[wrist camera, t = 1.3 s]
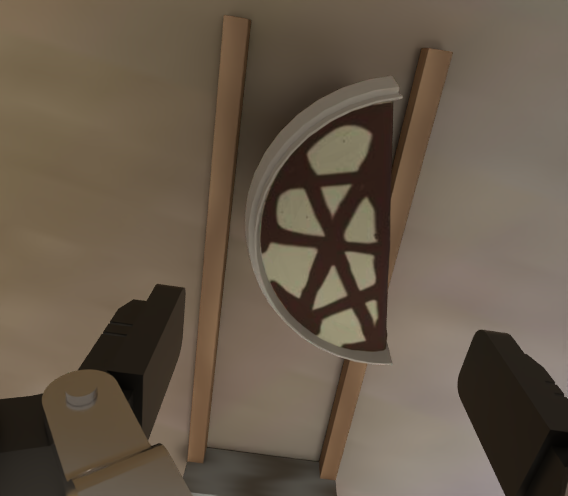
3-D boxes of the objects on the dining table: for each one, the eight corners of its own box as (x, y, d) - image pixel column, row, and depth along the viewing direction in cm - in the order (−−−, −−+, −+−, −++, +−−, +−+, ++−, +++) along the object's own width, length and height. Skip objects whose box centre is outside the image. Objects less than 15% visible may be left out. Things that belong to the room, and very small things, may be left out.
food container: (249, 74, 25) (220, 91, 15) (363, 66, 24) (403, 79, 15) (267, 276, 30) (254, 379, 20) (362, 272, 29) (392, 374, 20)
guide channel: (444, 51, 24) (470, 52, 20) (329, 481, 37) (332, 529, 33) (228, 16, 23) (215, 11, 20) (190, 463, 37) (178, 509, 33)
